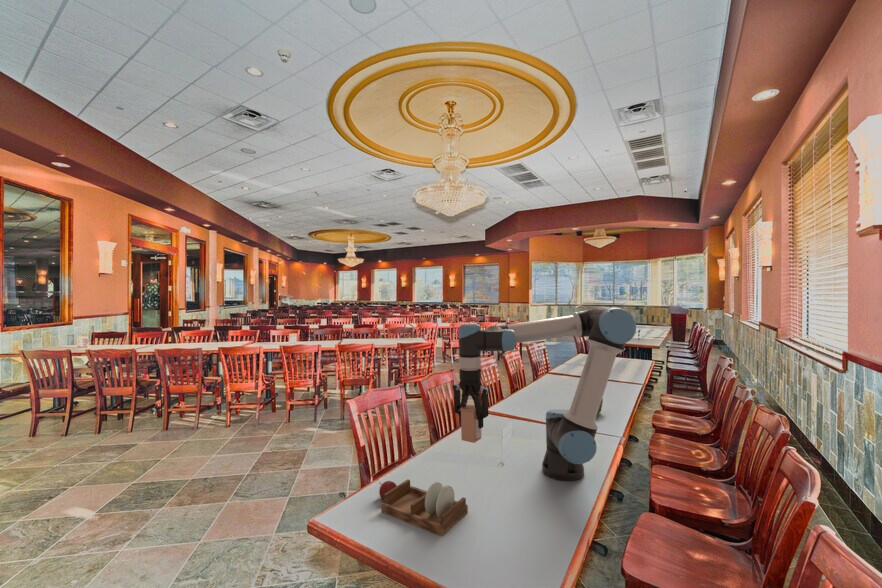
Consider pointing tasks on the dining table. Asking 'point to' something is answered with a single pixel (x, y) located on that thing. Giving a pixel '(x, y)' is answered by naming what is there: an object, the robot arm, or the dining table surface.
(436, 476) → the dining table surface
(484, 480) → the dining table surface
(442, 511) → the plates
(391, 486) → the fruit
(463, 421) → the tall tan box
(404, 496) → the rack
